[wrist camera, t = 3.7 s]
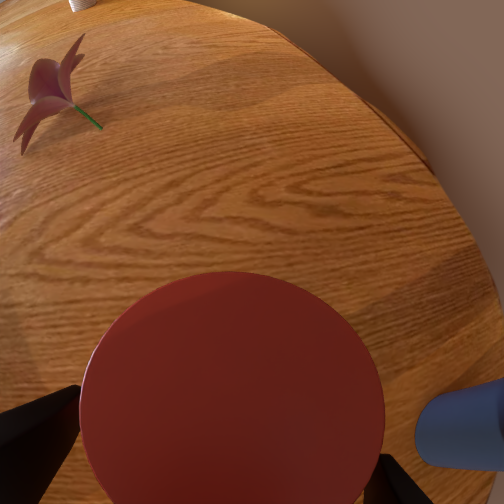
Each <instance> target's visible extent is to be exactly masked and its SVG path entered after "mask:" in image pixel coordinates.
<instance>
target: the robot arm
mask: <svg viewBox="0 0 504 504" xmlns="http://www.w3.org/2000/svg"><path fill="white" fill-rule="evenodd" d="M80 394H81V386H78V385H71V386H69V387H66V388H64V389H61V390H59V391H56V392H54V393H51V394H49V395H46V396H44V397H41V398H39V399H36V400H34V401H31V402H29V403H26V404H24V405H21V406H18V407H16V408H13V409H10V410H8V411H5V412H2V413H0V504H38V503H39V501H40V500H41V498H42V496H43V495H44V493H45V491H46V490H47V488H48V486H49V485H50V483H51V481H52V480H53V478H54V476H55V475H56V473H57V471H58V470H59V468H60V467H61V465H62V463H63V462H64V460H65V458H66V457H67V455H68V454H69V452H70V450H71V449H72V447H73V445H74V443H75V440H76V438H77V436H78V434H79V432H80V420H79V403H80ZM363 504H433V502H432V501H431V500H430V499H429V498H428V497H427V496H426V494H425V493H424V492H423V491H422V490H421V489H420V488H419V487H418V485H417V484H416V483H415V482H414V481H413V480H412V479H411V477H410V476H409V475H408V474H407V473H406V472H405V471H404V469H403V468H402V467H401V466H400V465H399V464H398V462H397V461H396V460H395V459H394V458H393V457H392V456H391V455H390V454H380V455H379V458H378V462H377V464H376V467H375V469H374V471H373V473H372V476H371V478H370V480H369V482H368V483H367V485H366V487H365V488H364V501H363Z"/></svg>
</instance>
